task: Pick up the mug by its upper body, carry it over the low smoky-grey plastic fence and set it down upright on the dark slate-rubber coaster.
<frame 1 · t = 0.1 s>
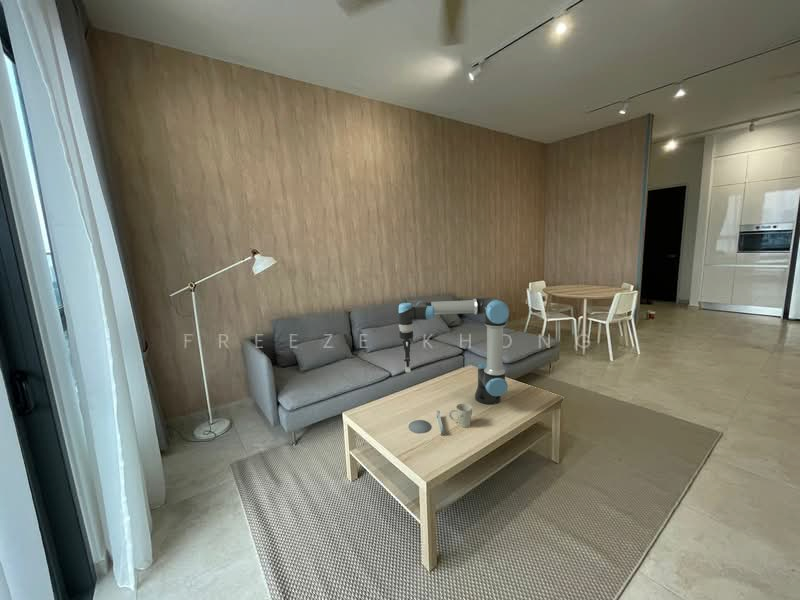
hand: (407, 367, 179), 28 cm above the table, fingers open, 13 cm apart
coaster: (419, 426, 169), on the table
fence: (440, 426, 169), on the table
mug: (460, 424, 170), on the table
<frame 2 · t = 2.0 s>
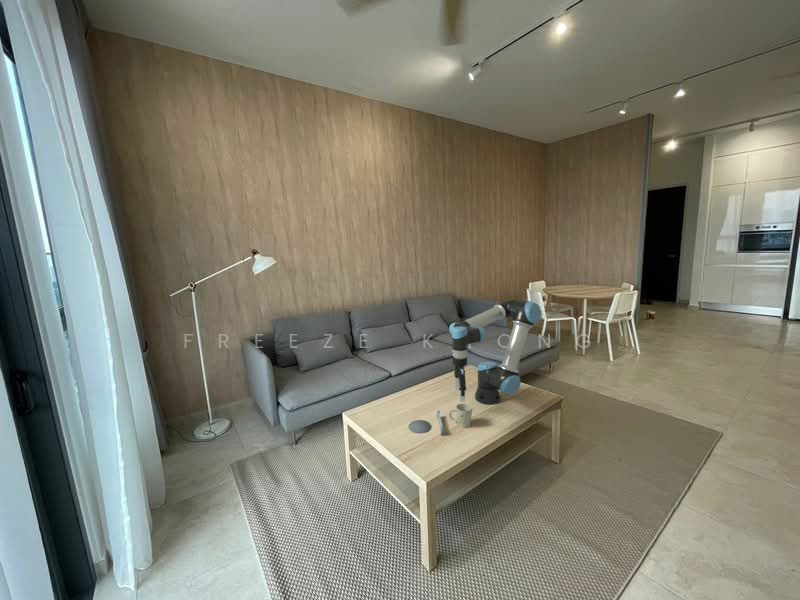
hand: (459, 395, 167), 17 cm above the table, fingers open, 13 cm apart
nothing on the table moved.
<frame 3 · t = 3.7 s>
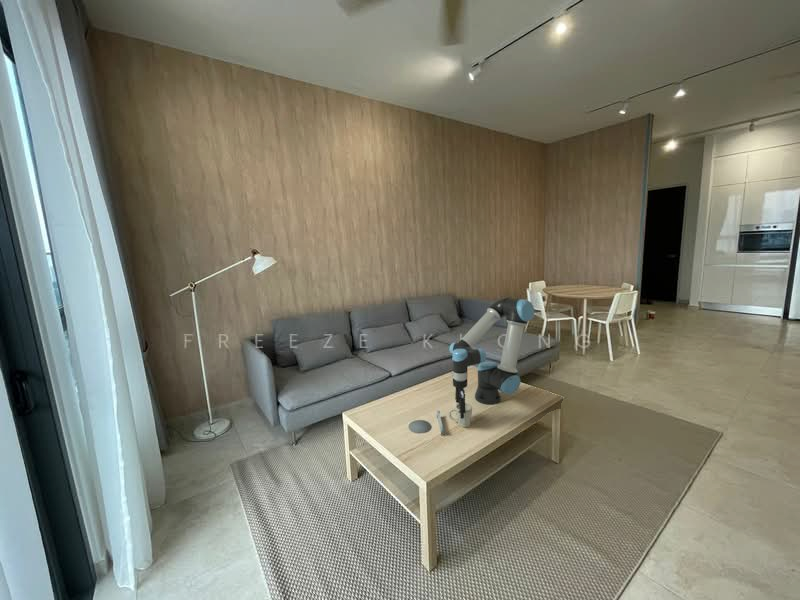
hand: (460, 418, 169), 3 cm above the table, fingers closed on mug, 8 cm apart
mug: (460, 424, 170), on the table, touching gripper
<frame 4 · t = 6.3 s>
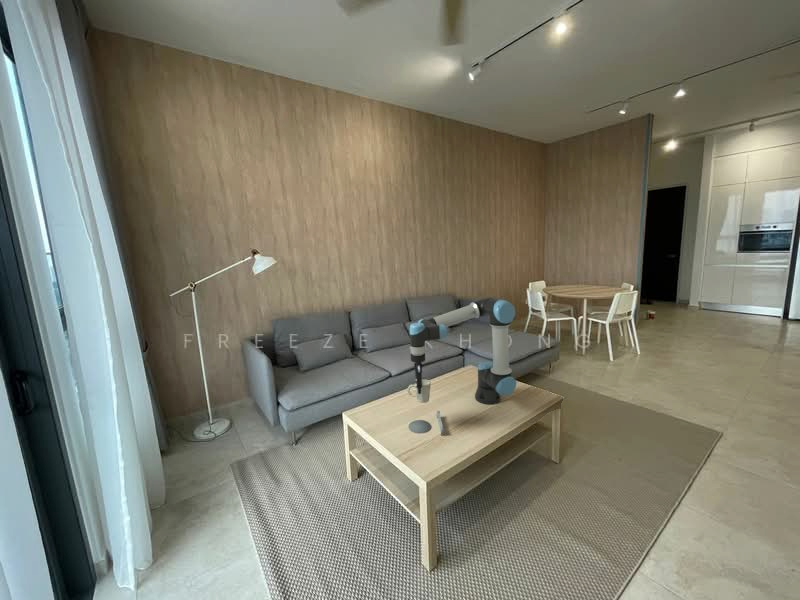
hand: (419, 394, 166), 18 cm above the table, fingers closed on mug, 8 cm apart
mug: (419, 400, 166), point 15 cm above the table, touching gripper
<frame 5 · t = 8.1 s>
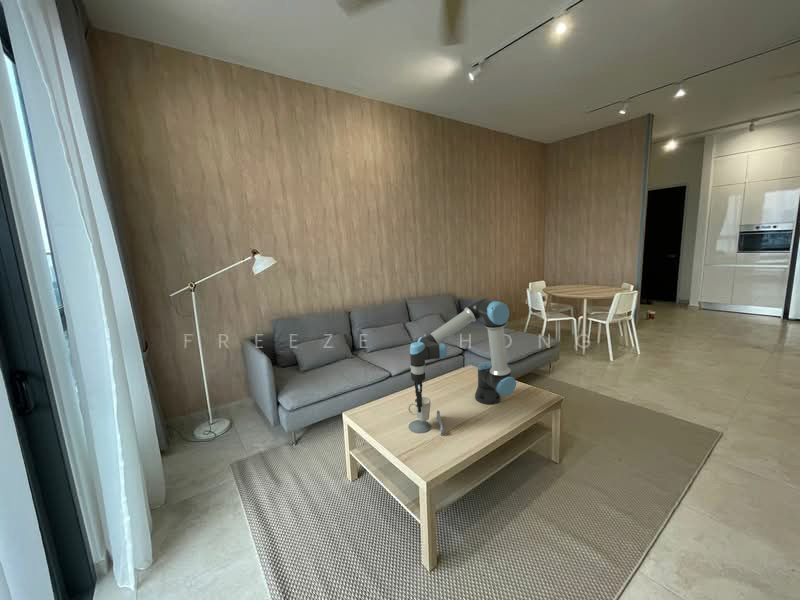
hand: (419, 412, 167), 8 cm above the table, fingers closed on mug, 8 cm apart
mug: (419, 418, 168), point 5 cm above the table, touching gripper
when the fingers open (5 cm above the table, at t = 9.2 s): mug drops 2 cm, resting on coaster.
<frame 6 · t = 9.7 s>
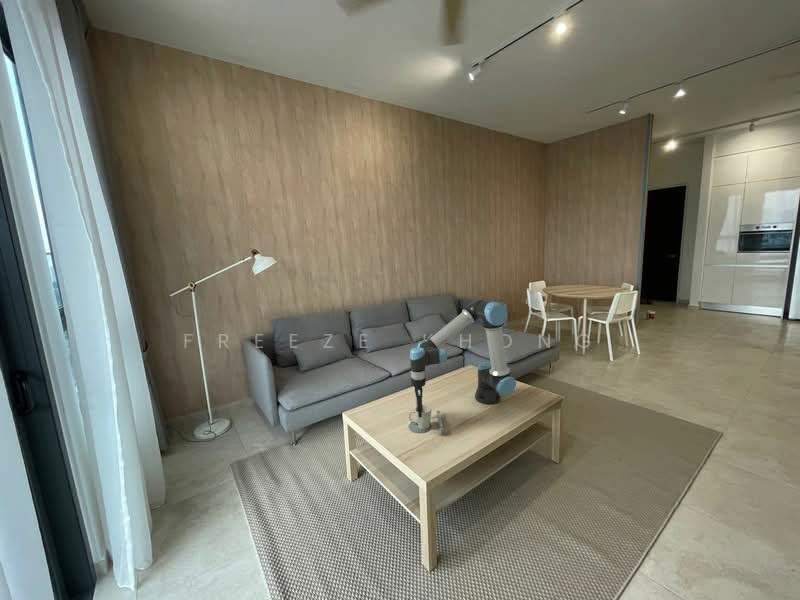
hand: (419, 415, 168), 7 cm above the table, fingers open, 13 cm apart
mug: (419, 426, 169), resting on coaster
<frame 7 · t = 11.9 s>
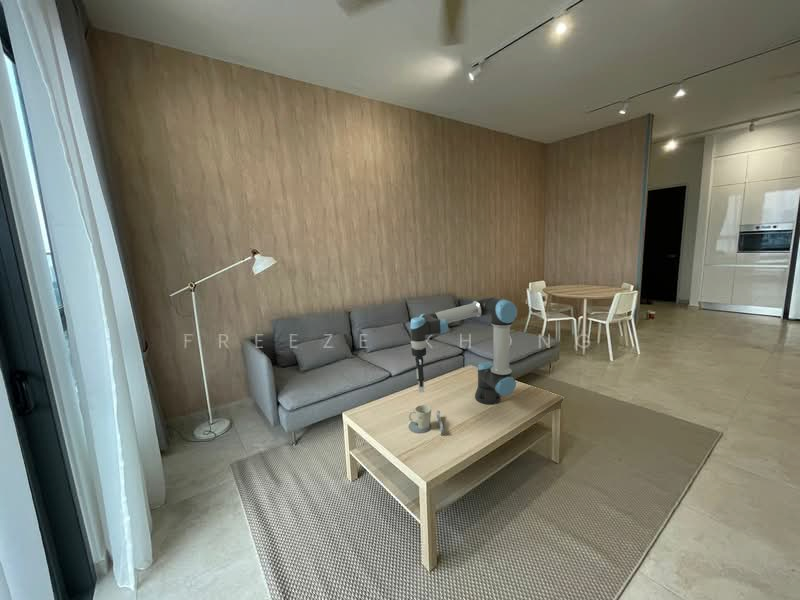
hand: (420, 386, 166), 23 cm above the table, fingers open, 13 cm apart
nothing on the table moved.
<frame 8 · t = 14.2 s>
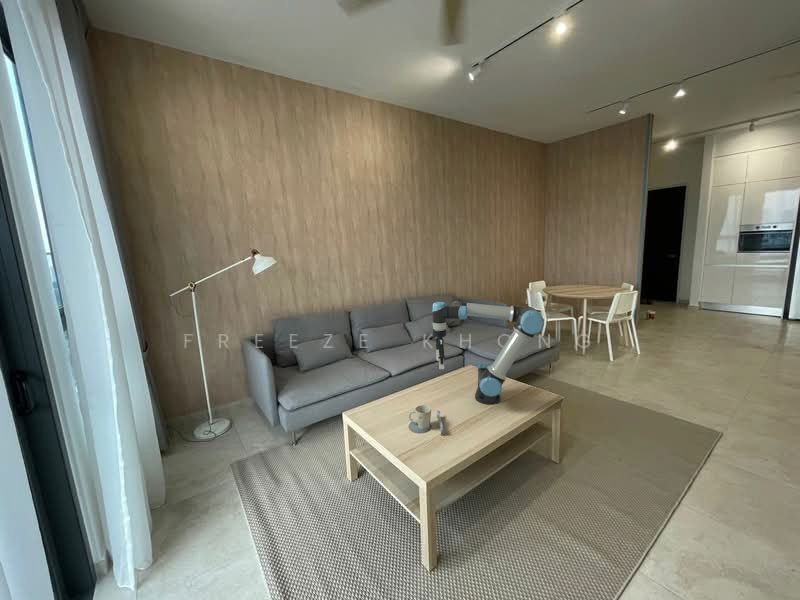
hand: (440, 364, 184), 27 cm above the table, fingers open, 13 cm apart
nothing on the table moved.
at the end: mug 0.2 cm from the coaster (horizontally); mug tilted 0°; mug touching coaster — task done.
